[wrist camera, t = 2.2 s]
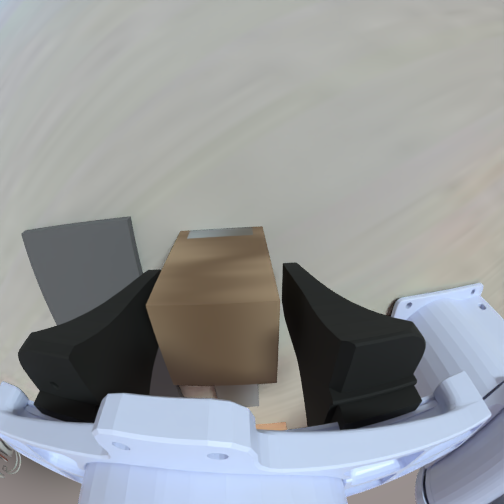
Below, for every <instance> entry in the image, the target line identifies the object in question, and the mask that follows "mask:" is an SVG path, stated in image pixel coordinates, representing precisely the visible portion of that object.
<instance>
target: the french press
mask: <svg viewBox="0 0 504 504" xmlns="http://www.w3.org/2000/svg"><path fill="white" fill-rule="evenodd" d="M2 440H3V439H2ZM2 440H0V451H1V452H3V453H4V454H6V455H9V456H10V457H11V456H12V453H13V450H14V449H13V448H12V447H11V446H10V445H8V444H7V443H6V442H5V441H4V440H3V441H2ZM2 443H3V444H2ZM10 449H12V451H10ZM15 452H16V450H15ZM18 454H19V452H18ZM19 456H20V455H19ZM16 457H17V453H16ZM0 458H1V459H3V460H4V461H6V462H8V460H7V459H6V458H5V457H3V455H1V454H0ZM17 462H18V459H17V460H16V465H17ZM20 464H21V458H20ZM16 465H15V467H14V469H15V468H16ZM4 467H6V466H3V468H2V469H3V470H4ZM19 468H20V465H19ZM19 468H18V469H17V471H18V470H19ZM14 469H12V470H14ZM12 470H10V471H12ZM4 471H6V473H8V472H10V471H7V467H6V470H4ZM17 471H15V472H13V473H8V474H14V473H16V472H17ZM0 477H1V478H5V475H4V474H2V473H0Z"/></svg>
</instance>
